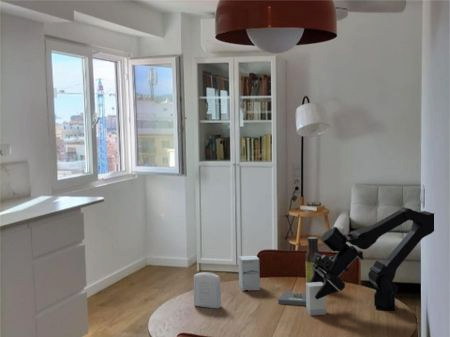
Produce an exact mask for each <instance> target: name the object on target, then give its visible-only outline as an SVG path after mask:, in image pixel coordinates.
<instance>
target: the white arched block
mask: <svg viewBox="0 0 450 337" xmlns="http://www.w3.org/2000/svg"><path fill="white" fill-rule="evenodd" d="M221 283H222V280H221V277H220V275H218V274H215V273H213V272H208V271H207V272H206V271H205V272H203V271H202V272H198V273H196V274H195V273H194V275H193V305H194V306H195V307H202V308H211V309H220V308H221V307H222V292H221V291H222V290H221V289H222V287H221Z"/></svg>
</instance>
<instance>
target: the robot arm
mask: <svg viewBox="0 0 450 337" xmlns="http://www.w3.org/2000/svg"><path fill="white" fill-rule="evenodd" d="M434 214H435V213H434V212H431V211H426V210H421V211H417V210H413V209H412V208H409V207H404V206H403V207H401V208H399V210H397V211H395V212H394V213H392V214H390V215H388V216H386V217H385V218H383V219H381V220H379V221H378V222H376V223H374V224H372V225H369V226H365V227H361V228H358V229H356V230H354V231H352V232H351V233H347V234H343V233H342V232H341V231H340V230H339V228H338V227H336V226H333V227H332V228H330V229H329V230H327V231H325V232H324V233H323V234H322V236H321V239H320V241H321V242H322V243H323V244H324V245H325V246H326V247H327V248H329V249H330V251H332V252H333V253H335V252H336V254H335V255H334V256H333V255H331V256H328V255H326V254H322V255H321V253H320V254H317V253H314V256H313V258H312V260H311V261H312V262H314V263H315V264H314V265H313V267H314V268H315V269H313V268H312V270H313V277H312V279H311V281H310V283H312V282H322V283H323V286H322V287H321V288H320V290H319V291H318V293H317V294H316V296H315V298H316V299H319V298H322V297H324V296H325V297H327V296H328V295H331V294H334V293H338V292H339V291H340V292H342V291H344V289H345V288H346V283H345V282H344V281H343V280H342V279H341V277H340V276H341V275H342V274H343V273H344V272H345V273H346V272H348V271H349V269H348V267H350V266H351V264H352V263H353V262H354V261H355V260H356V259H357V258H358V259H359V260H361V261H363V260H364V252H363V251H362V250H368V249H369V248H370V247H372V246H373V245H374V244H376V243H377V241H378V239H379V238H381V237H382V236H383V235H385V234H387V233H389V232H391V231H392V230H394V229H396V228H398V227H400V226H401V225H402V224H404V223H407V222H408V221H412V224H411V229H410V230H409V231H408V233H407V234H406V235H405V236H404V238H402V240H400V242H399V243H398V244H397V246H395V248H394V249H393V250H392V252H391V253H389V255H388V256H387V258H386V259H385V260H383V261H379V260H376V261H375V262H374V264H373V265H372V266H371V267H370V268H369V272H368V273H367V275H368V280H369V281H370V283H371V284H372V285H373V287H374V288H375V292H374V293H373V296H374V297H373V299H374V300H373V303H374V304H373V305H374V307H375V310H379V311H381V310H384V311H385V310H386V311H396V310H397V309H396V294H397V293H398V290H399V286H398V285H397V283H395V282H394V279H395V277H396V275H397V274H396V273H397V270H398V268H399V267H400V266H401V264H402V263H403V262H404V261H405V260H406V259H407V257H408V256H409V255H410V254H411V253H412V252H413V250H414V249H415V248H416V247H417V245H418V244H419V243H420V242H421V240H422V239H424V238H425V237H427V236H429V235H431V234H432V233H434V232H435V231H434ZM347 243H348V244H347ZM349 244H350V245H349ZM357 248H359V249H360V250H359V249H357Z"/></svg>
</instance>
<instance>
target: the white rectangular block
mask: <svg viewBox="0 0 450 337" xmlns="http://www.w3.org/2000/svg"><path fill="white" fill-rule="evenodd" d="M323 284H324V283H322V282H312V283H306V282H305V293H306V308H305V309H306V310H305V311H306V313H307V314H308V315H309V316H321V315H322V316H323V315H326V314H327V308H326V307H327V306H326V303H327V302H326V297H327V296H324V297H322V298H319V299H316V298H315V296H316V294H317V293H318V291H319V290H320V288H321V287H322V286H323Z"/></svg>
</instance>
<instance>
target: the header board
mask: <svg viewBox="0 0 450 337" xmlns="http://www.w3.org/2000/svg"><path fill="white" fill-rule="evenodd" d="M278 304H280V305H293V306H306V292H298V291H297V292H296V291H284V292H283V293H282V294H281V295H280V297H279V298H278Z"/></svg>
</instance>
